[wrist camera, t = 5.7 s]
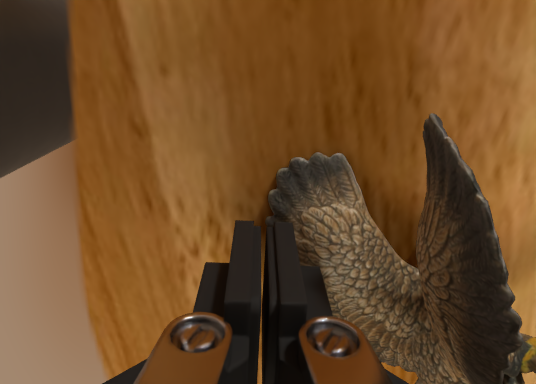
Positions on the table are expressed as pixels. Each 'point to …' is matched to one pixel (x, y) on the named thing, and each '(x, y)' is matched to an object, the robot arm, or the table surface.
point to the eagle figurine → (412, 268)
